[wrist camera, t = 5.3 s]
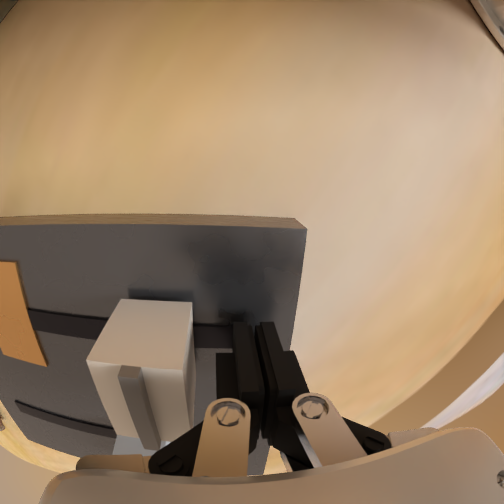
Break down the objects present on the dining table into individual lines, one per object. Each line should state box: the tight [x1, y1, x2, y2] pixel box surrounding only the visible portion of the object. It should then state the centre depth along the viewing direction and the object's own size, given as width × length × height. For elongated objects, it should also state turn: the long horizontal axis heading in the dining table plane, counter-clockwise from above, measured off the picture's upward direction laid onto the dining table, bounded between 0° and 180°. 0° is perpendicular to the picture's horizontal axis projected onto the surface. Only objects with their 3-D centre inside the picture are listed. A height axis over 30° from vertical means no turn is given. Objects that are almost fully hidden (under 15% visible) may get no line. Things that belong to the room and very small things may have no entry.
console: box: [0, 214, 307, 476], centre depth 14 cm, size 22×20×2 cm
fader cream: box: [86, 299, 196, 451], centre depth 9 cm, size 3×4×4 cm
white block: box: [112, 435, 171, 456], centre depth 12 cm, size 3×4×4 cm
